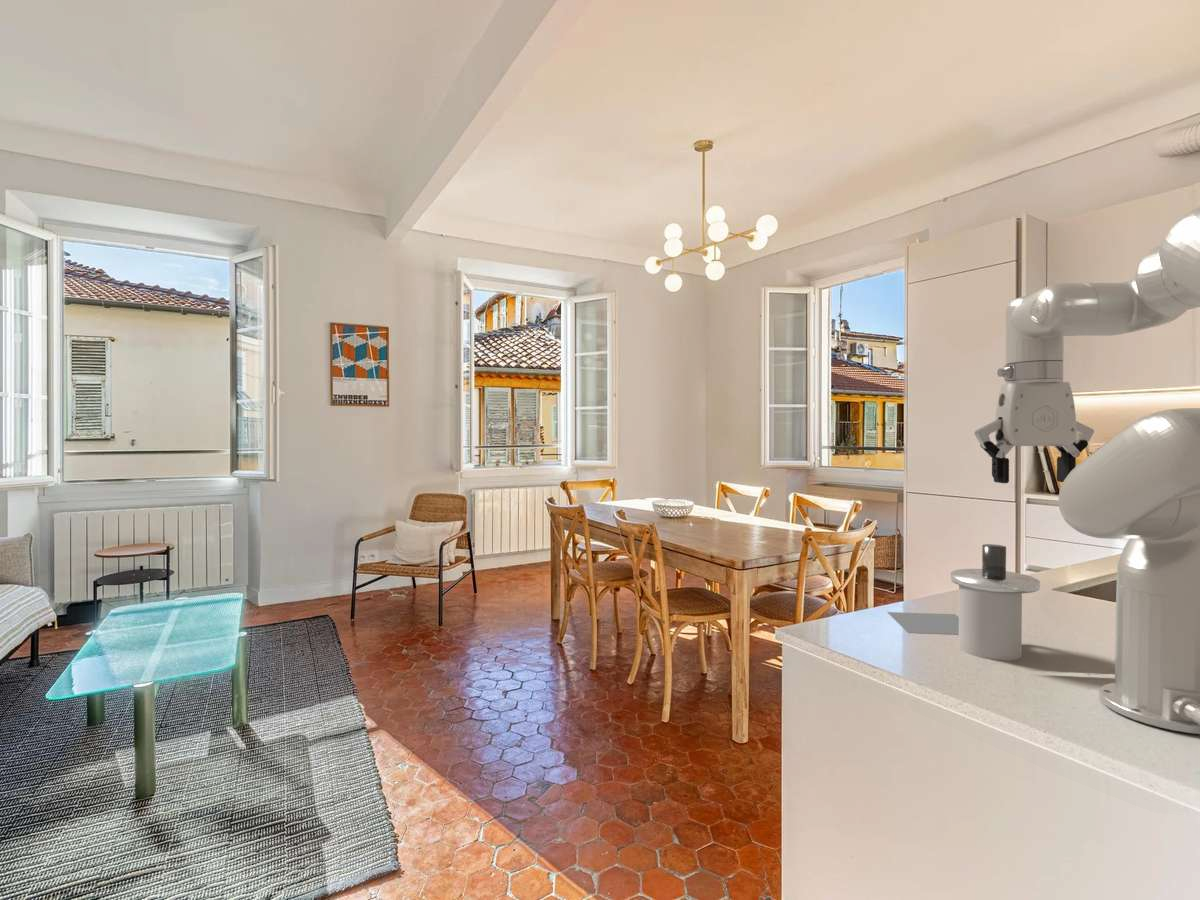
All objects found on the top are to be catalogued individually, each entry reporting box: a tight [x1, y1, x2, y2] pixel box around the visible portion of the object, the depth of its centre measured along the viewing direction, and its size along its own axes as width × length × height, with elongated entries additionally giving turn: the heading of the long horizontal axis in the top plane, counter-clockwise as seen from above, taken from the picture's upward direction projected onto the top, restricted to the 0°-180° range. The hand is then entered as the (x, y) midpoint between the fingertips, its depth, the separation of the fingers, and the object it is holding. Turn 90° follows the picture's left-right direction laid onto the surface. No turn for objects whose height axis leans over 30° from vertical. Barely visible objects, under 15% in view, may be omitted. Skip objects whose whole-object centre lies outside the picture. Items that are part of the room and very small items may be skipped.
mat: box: [887, 611, 959, 636], centre depth 112 cm, size 12×12×1 cm
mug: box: [957, 585, 1023, 661], centre depth 99 cm, size 12×8×11 cm
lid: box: [950, 543, 1041, 594], centre depth 99 cm, size 12×12×6 cm
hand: (1033, 482), depth 99 cm, fingers open, 9 cm apart
